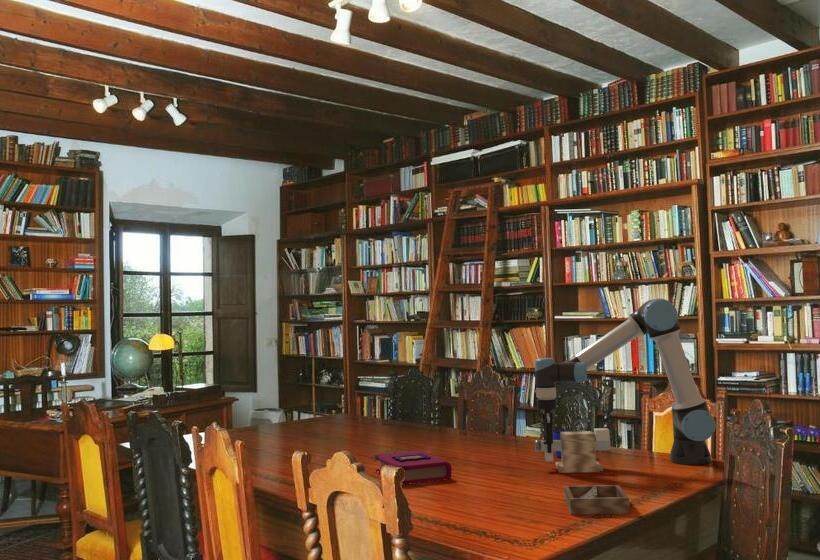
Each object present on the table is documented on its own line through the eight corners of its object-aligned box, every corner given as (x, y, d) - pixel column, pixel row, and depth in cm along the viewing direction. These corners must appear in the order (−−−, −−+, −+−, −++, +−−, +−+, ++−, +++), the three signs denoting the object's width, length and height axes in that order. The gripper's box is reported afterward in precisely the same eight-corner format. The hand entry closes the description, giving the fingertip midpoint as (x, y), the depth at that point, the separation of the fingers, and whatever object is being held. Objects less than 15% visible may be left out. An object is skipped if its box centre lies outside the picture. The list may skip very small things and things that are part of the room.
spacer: (607, 438, 285) (607, 428, 285) (609, 440, 280) (609, 430, 280) (594, 438, 285) (593, 428, 285) (596, 441, 280) (595, 430, 281)
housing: (597, 464, 289) (595, 429, 290) (603, 471, 275) (601, 435, 276) (555, 465, 291) (554, 430, 291) (559, 472, 277) (557, 436, 277)
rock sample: (567, 489, 234) (587, 472, 231) (585, 503, 235) (605, 487, 232) (568, 511, 225) (589, 494, 221) (587, 525, 226) (608, 509, 222)
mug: (584, 458, 302) (583, 433, 302) (554, 458, 304) (552, 433, 304) (583, 454, 310) (582, 430, 310) (554, 454, 312) (553, 430, 312)
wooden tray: (619, 499, 234) (618, 485, 234) (629, 513, 217) (629, 498, 217) (564, 500, 236) (564, 485, 236) (570, 514, 219) (570, 499, 219)
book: (424, 467, 299) (423, 448, 299) (452, 480, 272) (451, 459, 273) (374, 472, 291) (373, 453, 292) (398, 487, 265) (397, 465, 265)
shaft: (609, 449, 284) (608, 437, 284) (611, 451, 280) (610, 439, 280) (535, 450, 287) (534, 439, 287) (535, 452, 282) (535, 441, 283)
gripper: (534, 396, 294) (537, 456, 293) (538, 401, 277) (540, 464, 276) (554, 395, 293) (556, 455, 292) (558, 400, 277) (561, 464, 275)
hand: (549, 459), depth 284 cm, fingers open, 4 cm apart
